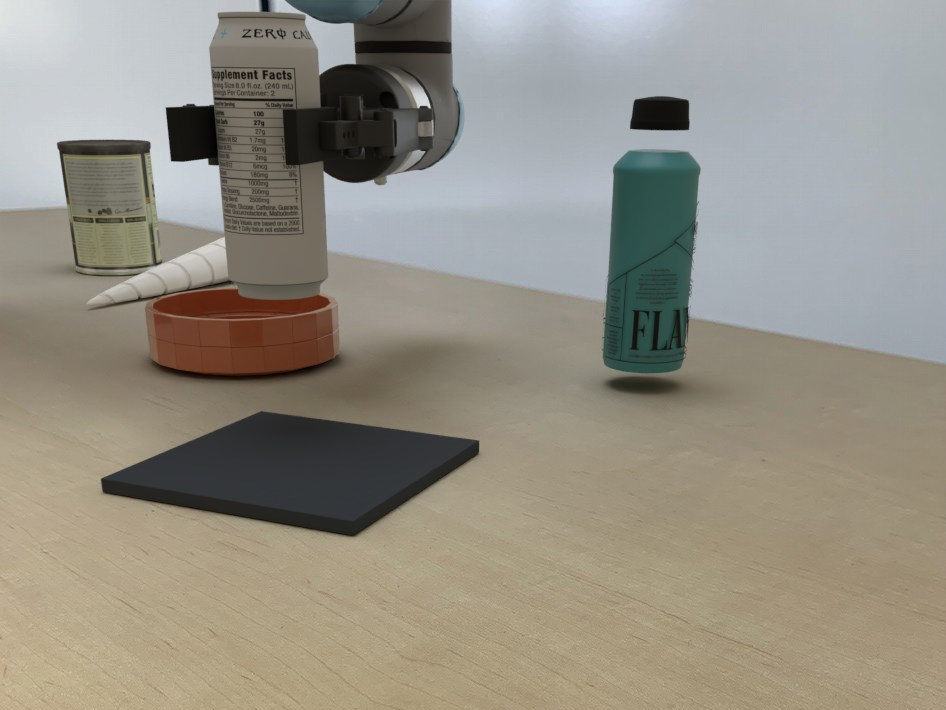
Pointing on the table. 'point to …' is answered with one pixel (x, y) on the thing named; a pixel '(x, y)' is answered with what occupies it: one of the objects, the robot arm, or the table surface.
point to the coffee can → (111, 206)
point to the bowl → (241, 332)
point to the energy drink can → (267, 155)
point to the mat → (296, 471)
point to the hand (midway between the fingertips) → (232, 136)
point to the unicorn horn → (173, 276)
